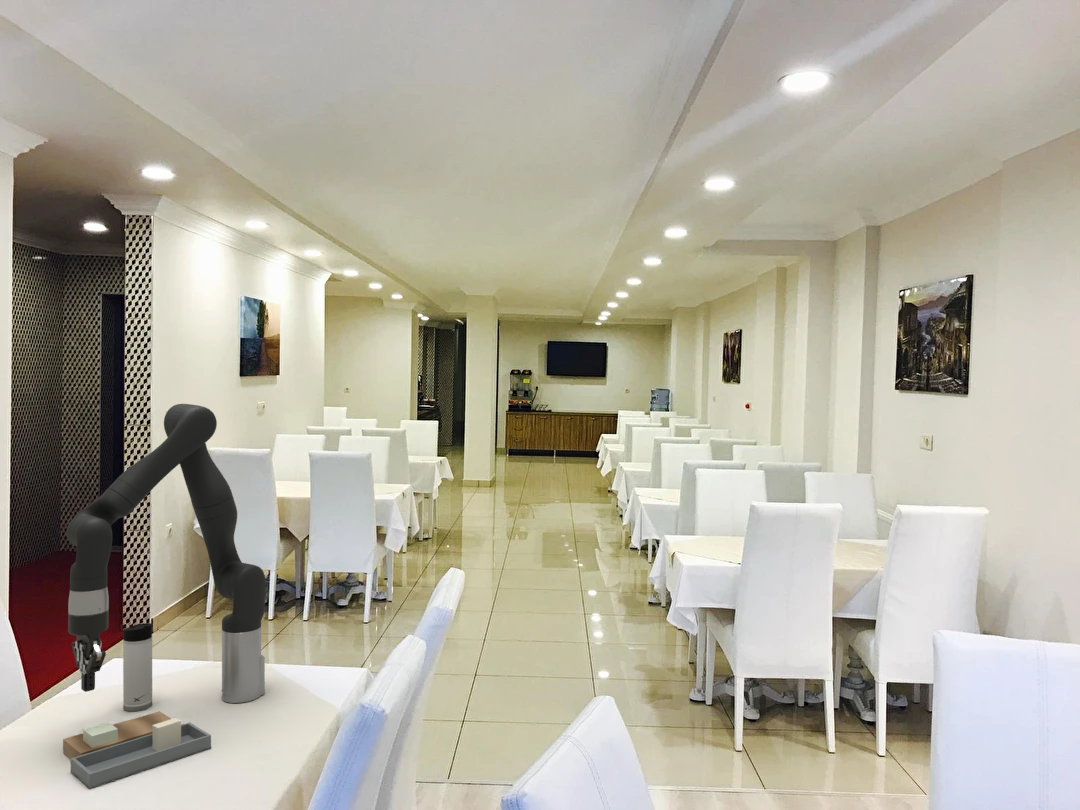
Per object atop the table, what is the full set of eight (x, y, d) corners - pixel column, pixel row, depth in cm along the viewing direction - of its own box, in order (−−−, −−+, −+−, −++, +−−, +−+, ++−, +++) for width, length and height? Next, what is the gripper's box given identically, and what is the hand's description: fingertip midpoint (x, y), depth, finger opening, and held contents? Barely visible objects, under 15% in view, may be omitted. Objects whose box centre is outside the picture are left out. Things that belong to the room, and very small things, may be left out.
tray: (189, 734, 181) (189, 722, 180) (211, 748, 174) (211, 735, 174) (70, 772, 163) (70, 758, 163) (89, 789, 156) (89, 774, 156)
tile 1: (108, 733, 174) (108, 722, 174) (117, 740, 171) (117, 728, 171) (83, 740, 170) (83, 729, 170) (92, 747, 167) (92, 736, 167)
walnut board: (159, 724, 186) (159, 711, 186) (179, 737, 179) (179, 723, 179) (63, 753, 171) (63, 739, 171) (80, 768, 164) (80, 753, 164)
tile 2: (175, 717, 176) (181, 720, 175) (175, 740, 177) (181, 743, 175) (152, 725, 173) (157, 728, 171) (152, 748, 173) (158, 751, 171)
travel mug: (141, 713, 192) (141, 628, 192) (117, 710, 194) (117, 627, 193) (159, 703, 198) (159, 621, 198) (135, 700, 200) (135, 619, 199)
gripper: (119, 611, 173) (119, 693, 173) (95, 600, 181) (94, 678, 182) (81, 618, 167) (80, 702, 167) (58, 606, 176) (57, 687, 176)
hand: (88, 689), depth 174 cm, fingers closed
